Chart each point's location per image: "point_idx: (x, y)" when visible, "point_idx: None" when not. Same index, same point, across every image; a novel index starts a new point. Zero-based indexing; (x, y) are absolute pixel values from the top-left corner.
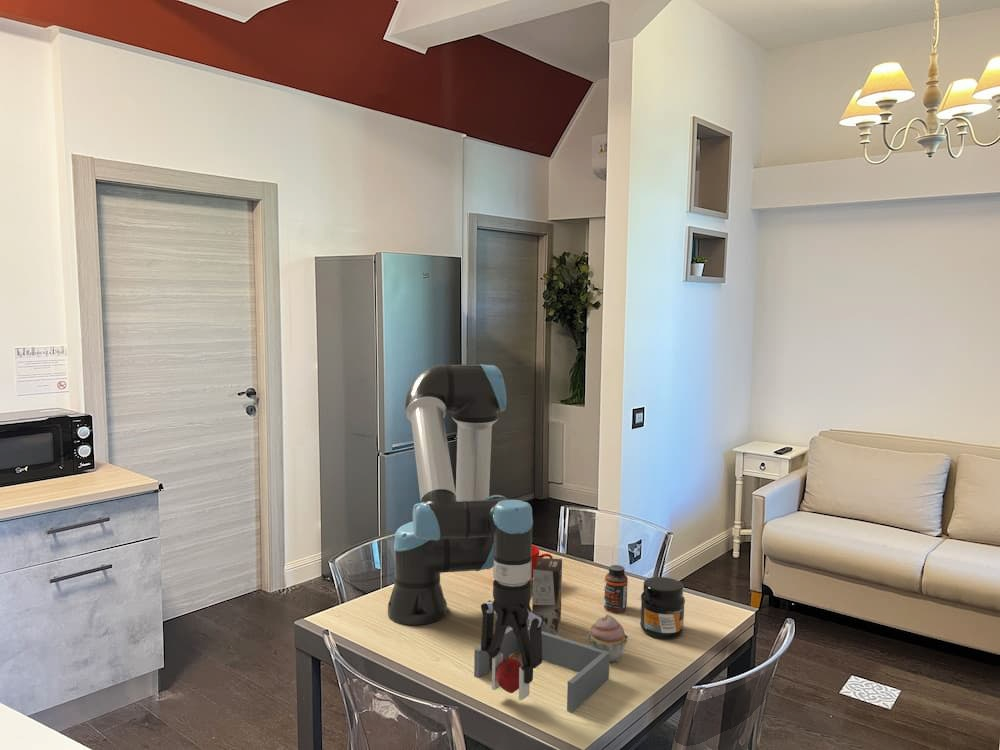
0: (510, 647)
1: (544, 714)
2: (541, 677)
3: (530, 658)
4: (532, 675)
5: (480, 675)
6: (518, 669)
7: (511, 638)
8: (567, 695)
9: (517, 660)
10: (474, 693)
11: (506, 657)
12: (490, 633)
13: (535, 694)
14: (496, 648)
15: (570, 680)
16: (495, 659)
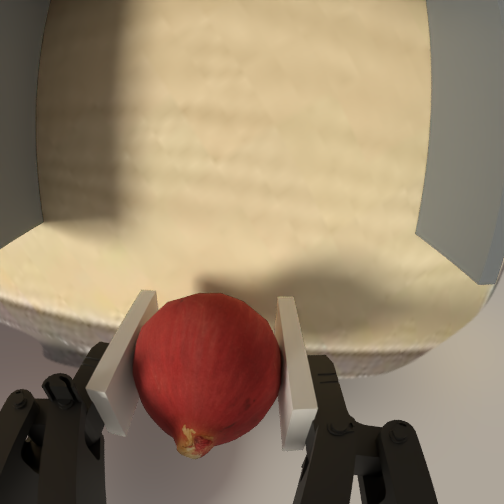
0: (25, 21)
1: (357, 290)
2: (221, 59)
3: (361, 499)
4: (336, 380)
5: (39, 212)
6: (261, 417)
7: (4, 9)
8: (445, 256)
9: (226, 415)
10: (98, 306)
11: (38, 49)
12: (18, 485)
13: (271, 194)
14: (97, 462)
15: (487, 268)
16: (125, 433)
